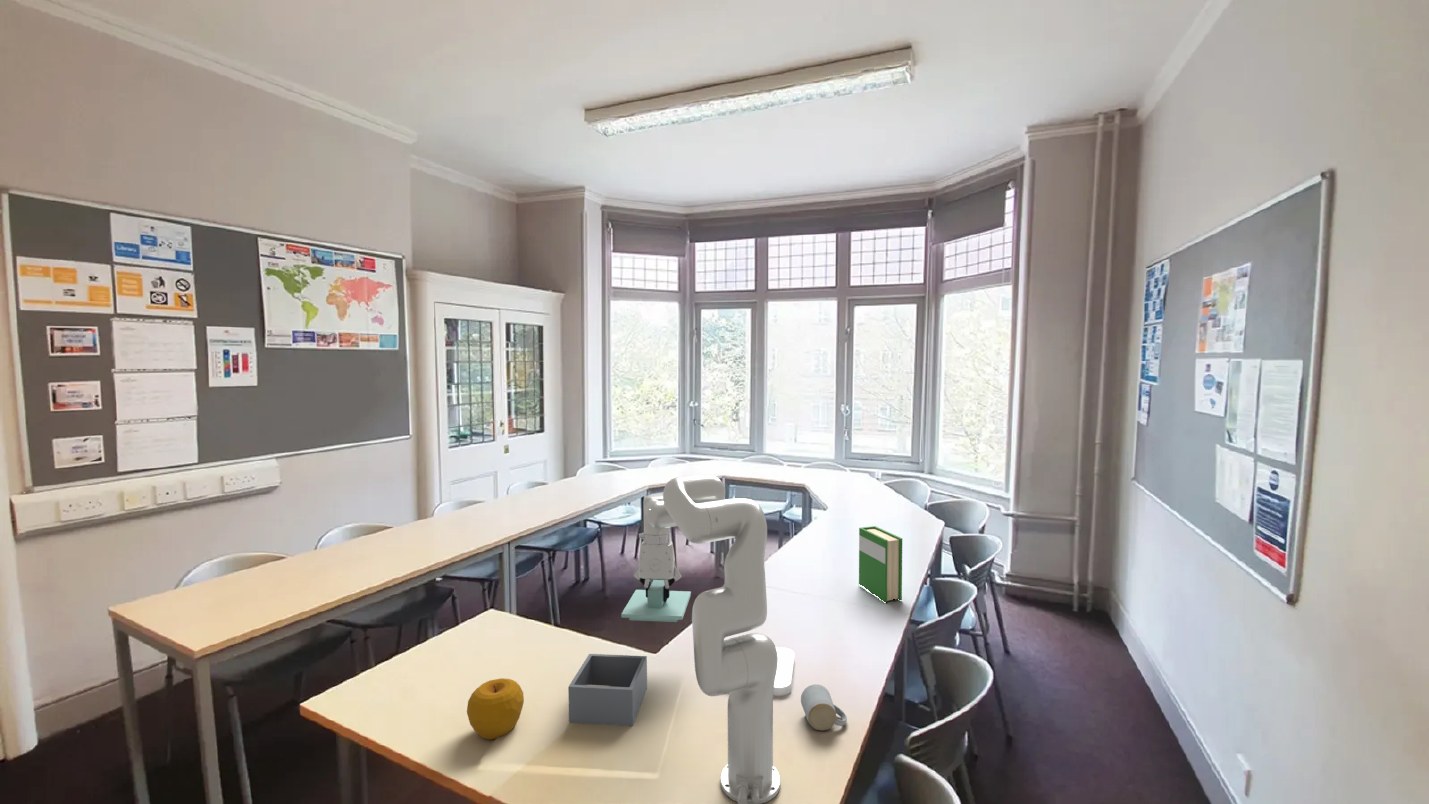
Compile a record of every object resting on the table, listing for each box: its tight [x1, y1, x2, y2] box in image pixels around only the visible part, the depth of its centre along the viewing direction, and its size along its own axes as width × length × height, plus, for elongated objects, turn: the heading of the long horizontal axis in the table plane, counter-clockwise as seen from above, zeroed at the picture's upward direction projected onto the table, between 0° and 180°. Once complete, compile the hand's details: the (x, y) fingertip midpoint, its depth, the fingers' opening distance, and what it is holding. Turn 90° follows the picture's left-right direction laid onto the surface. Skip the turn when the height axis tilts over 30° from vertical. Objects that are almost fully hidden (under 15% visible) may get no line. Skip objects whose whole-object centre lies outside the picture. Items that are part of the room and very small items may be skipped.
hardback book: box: [858, 525, 903, 603], centre depth 216 cm, size 18×7×24 cm, turn 18°
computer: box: [773, 646, 795, 697], centre depth 161 cm, size 22×22×3 cm
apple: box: [466, 677, 525, 741], centre depth 135 cm, size 13×13×11 cm
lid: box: [620, 579, 692, 623], centre depth 161 cm, size 17×17×8 cm
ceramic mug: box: [800, 683, 848, 731], centre depth 137 cm, size 11×8×8 cm
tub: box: [567, 653, 648, 727], centre depth 143 cm, size 16×16×10 cm
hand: (657, 599), depth 161 cm, fingers closed on lid, 4 cm apart
